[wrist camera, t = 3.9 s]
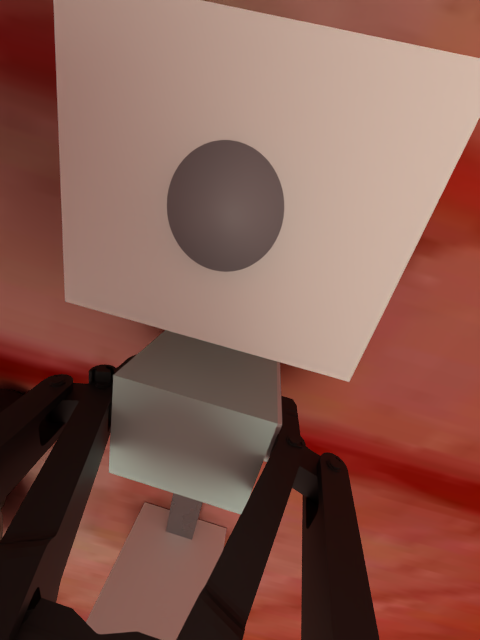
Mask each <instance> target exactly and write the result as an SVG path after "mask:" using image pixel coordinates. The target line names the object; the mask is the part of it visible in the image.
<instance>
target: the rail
mask: <svg viewBox="0 0 480 640" xmlns="http://www.w3.org/2000/svg"><path fill="white" fill-rule="evenodd" d="M201 506H202V502H200V501H197V500H194V499H191V498H188V497H185V496H181V495H178V494H175V493H173V498H172V502H171V507H170V512H169V517H168V522H167V527H166V532H169V533H172V534H175V535H178V536H181V537H185V538H188V539H191V540H192V538H193V535H194V531H195V527H196V524H197V520H198V517H199V513H200V509H201Z"/></svg>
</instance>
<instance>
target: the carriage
mask: <svg viewBox="0 0 480 640" xmlns="http://www.w3.org/2000/svg"><path fill="white" fill-rule="evenodd" d="M277 424H278V407H277V361H274V360H270V359H267V358H263V357H260V356H256V355H252V354H249V353H245V352H242V351H238V350H235V349H231V348H228V347H224V346H221V345H217V344H214V343H210V342H207V341H203V340H199V339H196V338H192V337H189V336H185V335H182V334H178V333H175V332H171V331H168V330H165V331H164V332H163V333H162V334H160V335H159V336H158V337H157V338H156V339H155V340H153V341H152V342H151V343H150V344H149V345H148V346H146V347H145V348H144V349H143V350H142V351H141V352H139V353H138V354H137V355H136V356H135V357H134V358H133V359H131V360H130V361H129V362H128V363H127V364H126V365H124V366H123V367H122V368H121V369H120V370H119V371H117V372H116V373H115V374H114V375H113V393H112V415H111V437H110V458H109V473H112V474H115V475H119V476H122V477H125V478H128V479H131V480H134V481H137V482H141V483H144V484H147V485H150V486H153V487H156V488H159V489H163V490H166V491H169V492H172V493H175V494H178V495H181V496H185V497H188V498H191V499H194V500H197V501H200V502H203V503H207V504H210V505H213V506H216V507H219V508H222V509H225V510H229V511H232V512H235V513H238V514H241V513H242V511H243V509H244V507H245V506H246V504H247V502H248V499H249V496H250V494H251V491H252V489H253V486H254V484H255V481H256V478H257V476H258V473H259V471H260V468H261V465H262V463H263V460H264V458H265V455H266V453H267V450H268V447H269V445H270V442H271V440H272V437H273V435H274V432H275V429H276V427H277Z"/></svg>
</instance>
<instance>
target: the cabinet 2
mask: <svg viewBox="0 0 480 640" xmlns="http://www.w3.org/2000/svg"><path fill="white" fill-rule="evenodd" d="M53 2H54V28H55V54H56V80H57V106H58V132H59V158H60V184H61V210H62V236H63V262H64V288H65V302H69V303H72V304H76V305H79V306H83V307H86V308H90V309H93V310H97V311H101V312H104V313H108V314H111V315H115V316H118V317H122V318H125V319H129V320H132V321H136V322H139V323H143V324H146V325H150V326H154V327H157V328H161V329H164V330H168V331H171V332H175V333H178V334H182V335H185V336H189V337H192V338H196V339H199V340H203V341H207V342H210V343H214V344H217V345H221V346H224V347H228V348H231V349H235V350H238V351H242V352H245V353H249V354H252V355H256V356H260V357H263V358H267V359H270V360H274V361H277V362H281V363H284V364H288V365H291V366H295V367H298V368H302V369H305V370H309V371H313V372H316V373H320V374H323V375H327V376H330V377H334V378H337V379H341V380H344V381H348V382H349V381H350V379H351V377H352V375H353V373H354V371H355V369H356V367H357V365H358V363H359V361H360V359H361V357H362V355H363V353H364V351H365V349H366V347H367V345H368V343H369V341H370V339H371V337H372V335H373V333H374V331H375V329H376V327H377V325H378V322H379V320H380V318H381V316H382V314H383V312H384V310H385V308H386V306H387V304H388V302H389V300H390V298H391V296H392V294H393V292H394V290H395V288H396V286H397V284H398V282H399V280H400V278H401V276H402V274H403V272H404V270H405V268H406V266H407V264H408V262H409V260H410V258H411V255H412V253H413V251H414V249H415V247H416V245H417V243H418V241H419V239H420V237H421V235H422V233H423V231H424V229H425V227H426V225H427V223H428V221H429V219H430V217H431V215H432V213H433V211H434V209H435V207H436V205H437V203H438V201H439V199H440V197H441V195H442V193H443V191H444V188H445V186H446V184H447V182H448V180H449V178H450V176H451V174H452V172H453V170H454V168H455V166H456V164H457V162H458V160H459V158H460V156H461V154H462V152H463V150H464V148H465V146H466V144H467V142H468V140H469V138H470V136H471V134H472V132H473V130H474V128H475V126H476V124H477V121H478V119H479V117H480V58H475V57H470V56H465V55H461V54H456V53H451V52H446V51H441V50H437V49H432V48H427V47H422V46H418V45H413V44H408V43H403V42H398V41H394V40H389V39H384V38H379V37H375V36H370V35H365V34H360V33H355V32H351V31H346V30H341V29H336V28H332V27H327V26H322V25H317V24H312V23H308V22H303V21H298V20H293V19H289V18H284V17H279V16H274V15H269V14H265V13H260V12H255V11H250V10H246V9H241V8H236V7H231V6H226V5H222V4H217V3H212V2H207V1H203V0H53Z"/></svg>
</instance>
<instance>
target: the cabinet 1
mask: <svg viewBox="0 0 480 640" xmlns="http://www.w3.org/2000/svg"><path fill="white" fill-rule="evenodd" d="M169 512H170V510H168V509H165V508H162V507H159V506H155V505H152V504H149V503H146V502H145V503H144V505H143V507H142V509H141V511H140V513H139V515H138V517H137V519H136V521H135V523H134V525H133V527H132V529H131V531H130V533H129V535H128V537H127V539H126V541H125V543H124V545H123V548H122V550H121V552H120V554H119V556H118V558H117V560H116V562H115V564H114V566H113V568H112V570H111V572H110V574H109V576H108V578H107V580H106V582H105V584H104V586H103V588H102V590H101V592H100V594H99V597H98V599H97V601H96V603H95V605H94V607H93V609H92V611H91V613H90V615H89V617H88V619H87V621H86V623H87V624H88V625H89V626H90V627H91V628H92V629H93V630H94V631H95V632H96V633H98V634H111V633H123V632H135V631H138V632H140V633H143V634H146V635H149V636H152V637H155V638H158V639H160V640H176V639H177V637H178V635H179V633H180V631H181V629H182V627H183V625H184V623H185V621H186V619H187V617H188V615H189V613H190V611H191V610H192V608H193V606H194V604H195V602H196V600H197V598H198V596H199V594H200V592H201V591H202V589H203V588H204V586H205V585H206V583H207V581H208V579H209V577H210V575H211V573H212V571H213V569H214V567H215V565H216V563H217V561H218V559H219V557H220V555H221V553H222V551H223V548H224V542H225V536H226V530H227V528H224V527H221V526H218V525H214V524H211V523H208V522H205V521H202V520H199V519H198V520H197V524H196V527H195V531H194V535H193V538H192V540H191V539H188V538H185V537H181V536H178V535H175V534H172V533H169V532H166V527H167V522H168V517H169Z"/></svg>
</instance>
